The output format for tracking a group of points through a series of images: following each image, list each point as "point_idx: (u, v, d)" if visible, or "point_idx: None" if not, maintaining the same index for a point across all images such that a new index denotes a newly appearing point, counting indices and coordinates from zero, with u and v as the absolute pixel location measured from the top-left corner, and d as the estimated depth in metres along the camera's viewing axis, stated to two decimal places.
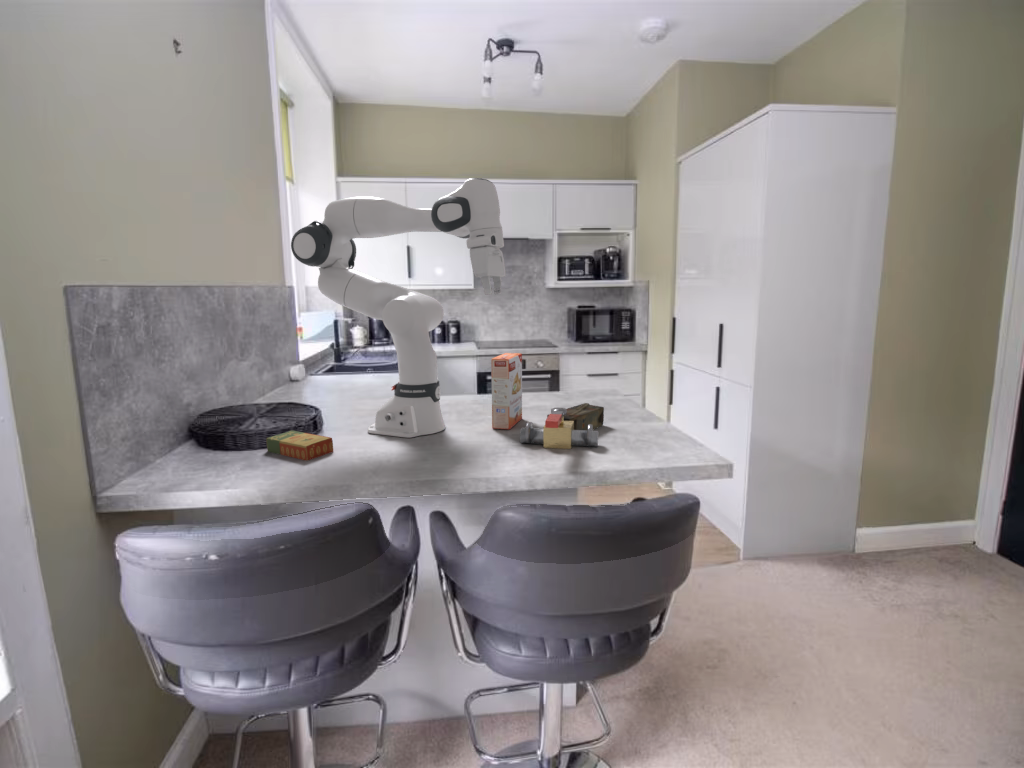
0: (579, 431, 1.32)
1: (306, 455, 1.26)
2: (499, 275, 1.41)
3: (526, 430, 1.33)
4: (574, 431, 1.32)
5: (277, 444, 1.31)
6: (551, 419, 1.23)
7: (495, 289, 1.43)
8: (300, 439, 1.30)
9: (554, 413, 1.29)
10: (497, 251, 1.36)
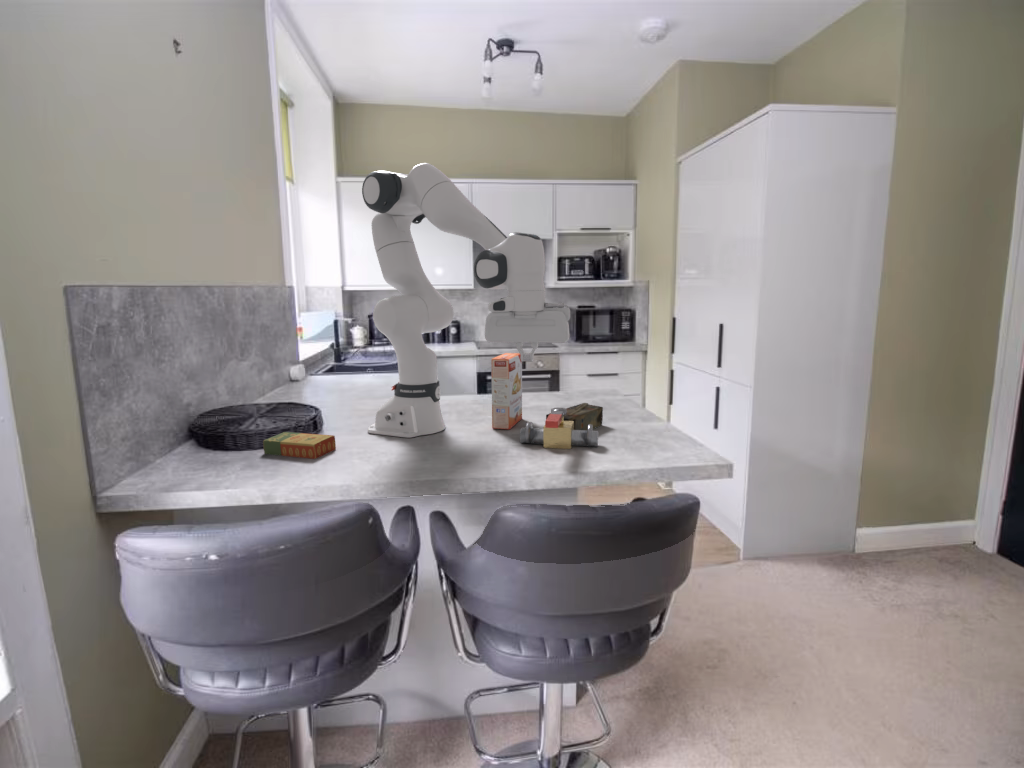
0: (579, 431, 1.32)
1: (314, 453, 1.27)
2: (535, 341, 1.21)
3: (526, 430, 1.33)
4: (574, 431, 1.32)
5: (277, 445, 1.30)
6: (551, 419, 1.23)
7: None
8: (302, 439, 1.31)
9: (554, 413, 1.29)
10: (519, 316, 1.20)
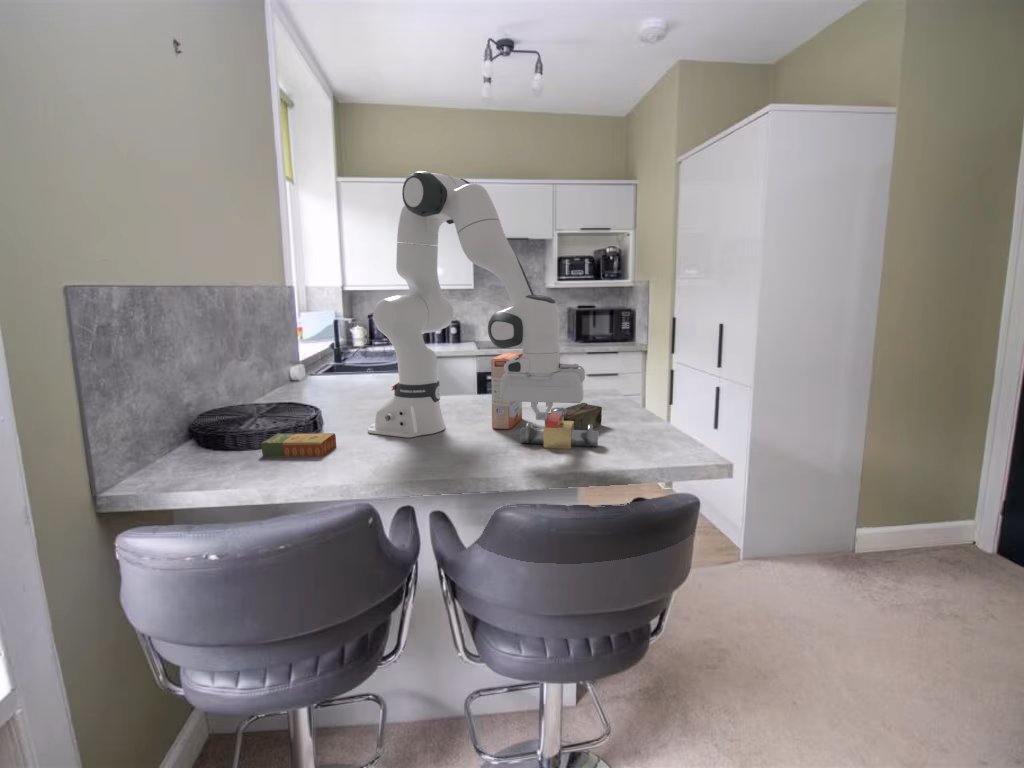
0: (579, 431, 1.32)
1: (321, 451, 1.28)
2: (550, 401, 1.23)
3: (526, 430, 1.33)
4: (574, 431, 1.32)
5: (278, 446, 1.29)
6: (551, 419, 1.23)
7: None
8: (305, 438, 1.31)
9: (554, 413, 1.29)
10: (534, 377, 1.22)
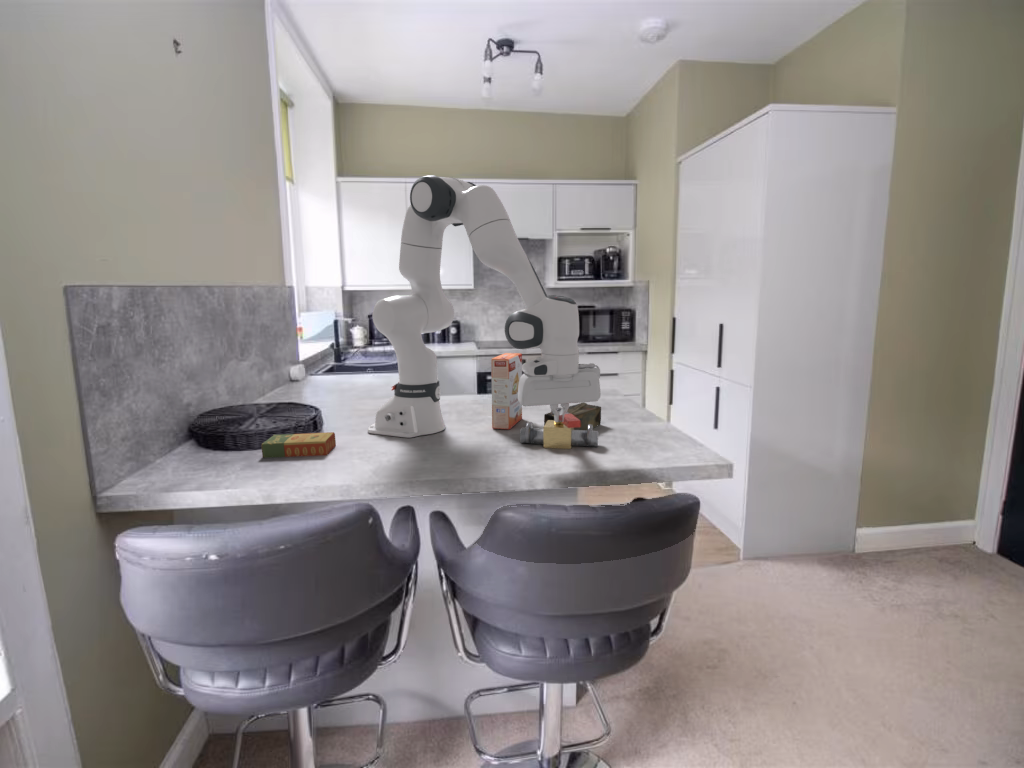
0: (579, 431, 1.32)
1: (325, 450, 1.29)
2: (571, 402, 1.23)
3: (526, 430, 1.33)
4: (574, 431, 1.32)
5: (279, 447, 1.29)
6: (571, 419, 1.23)
7: None
8: (306, 438, 1.31)
9: None
10: (559, 379, 1.20)
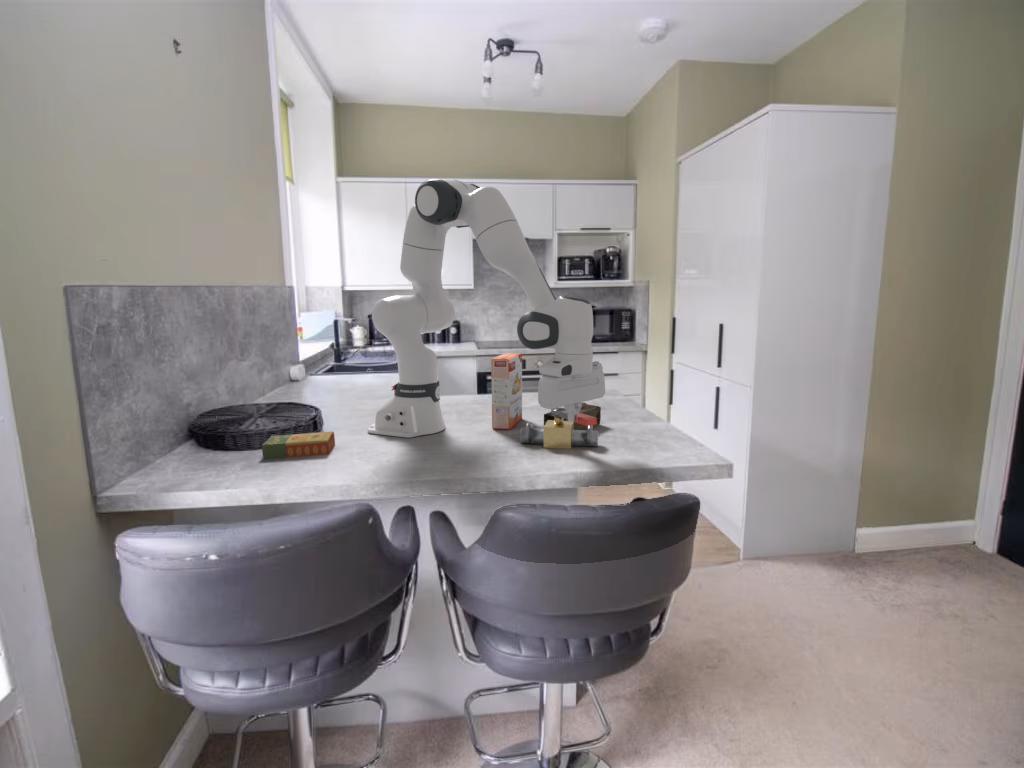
0: (579, 431, 1.32)
1: (328, 449, 1.30)
2: (585, 400, 1.24)
3: (526, 430, 1.33)
4: (574, 431, 1.32)
5: (281, 447, 1.28)
6: (586, 417, 1.24)
7: None
8: (307, 437, 1.32)
9: None
10: (578, 378, 1.20)
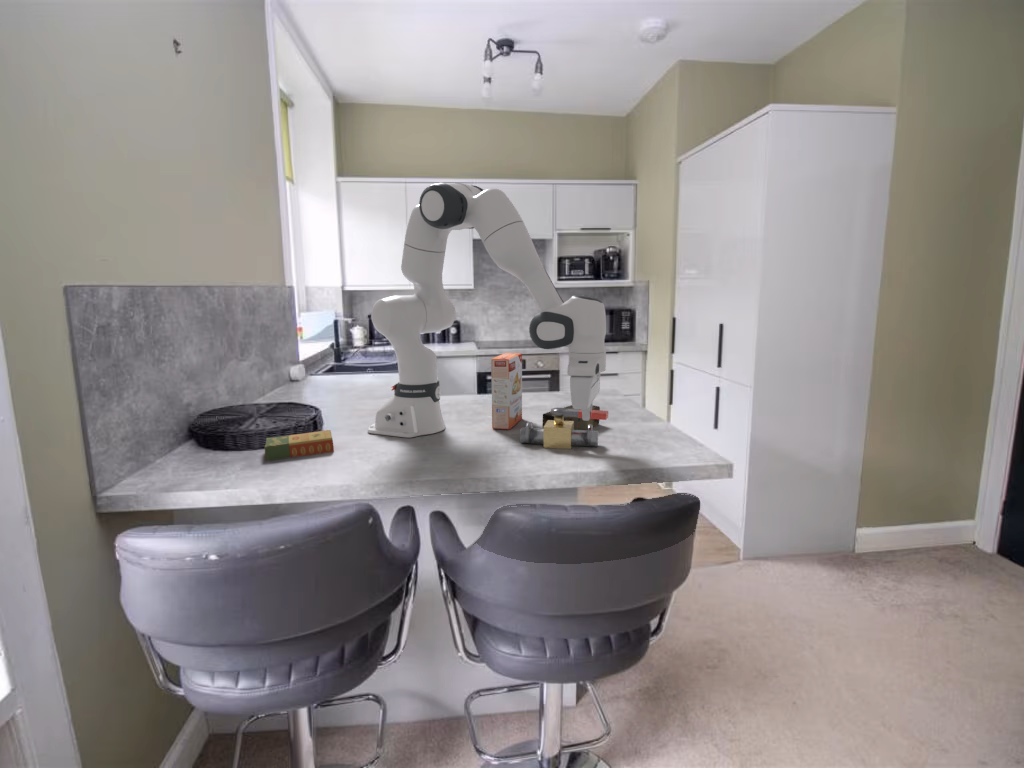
0: (579, 431, 1.32)
1: (332, 446, 1.32)
2: None
3: (526, 430, 1.33)
4: (574, 431, 1.32)
5: (284, 447, 1.28)
6: (600, 412, 1.29)
7: None
8: (308, 437, 1.32)
9: (575, 410, 1.31)
10: (598, 376, 1.22)
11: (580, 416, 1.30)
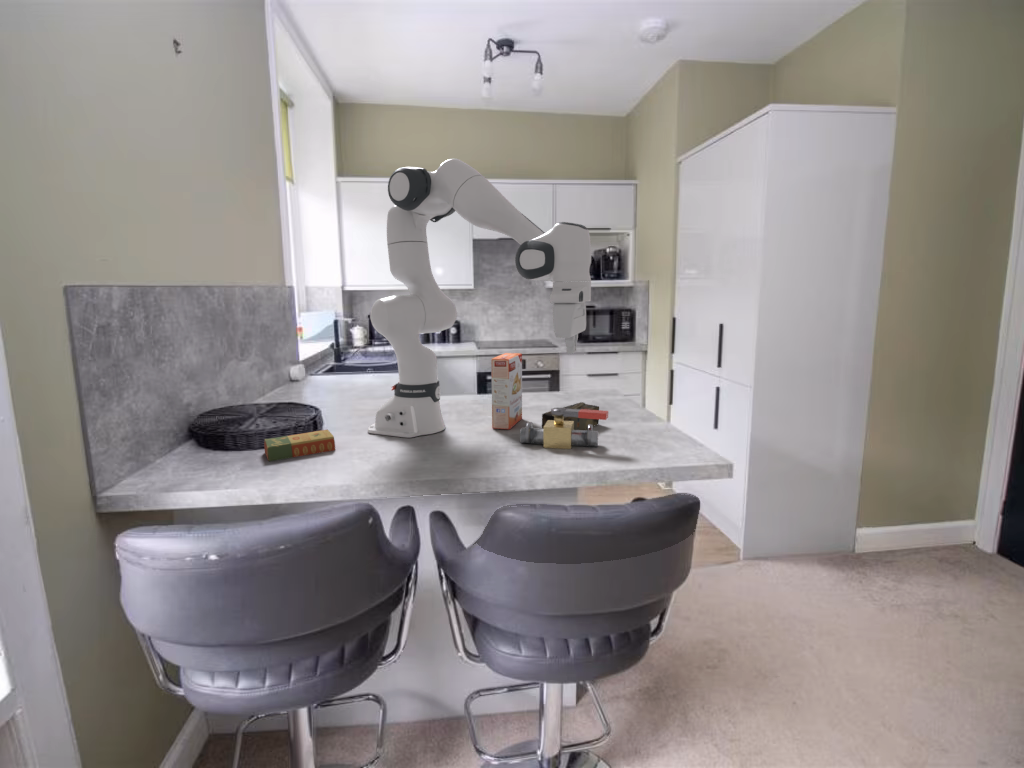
0: (579, 431, 1.32)
1: (334, 445, 1.33)
2: None
3: (526, 430, 1.33)
4: (574, 431, 1.32)
5: (287, 448, 1.28)
6: (600, 412, 1.29)
7: None
8: (309, 436, 1.33)
9: (575, 410, 1.31)
10: (582, 307, 1.18)
11: (580, 416, 1.30)
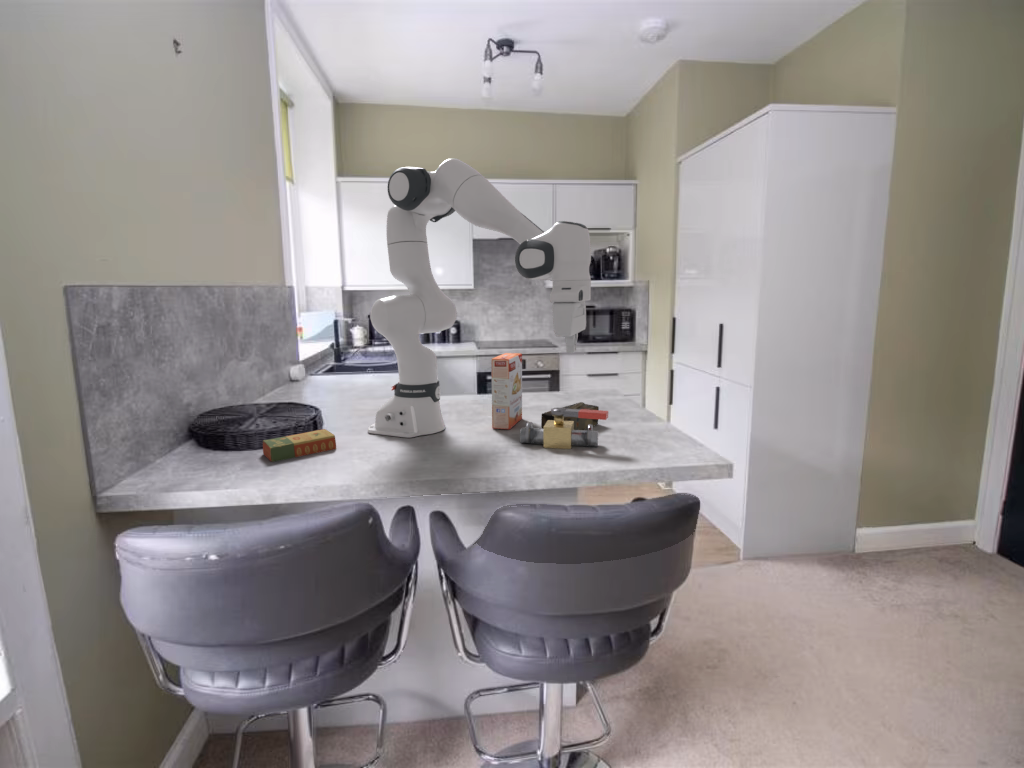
0: (579, 431, 1.32)
1: (335, 444, 1.34)
2: (580, 331, 1.23)
3: (526, 430, 1.33)
4: (574, 431, 1.32)
5: (289, 448, 1.28)
6: (600, 412, 1.29)
7: None
8: (309, 436, 1.33)
9: (575, 410, 1.31)
10: (582, 306, 1.18)
11: (580, 416, 1.30)
